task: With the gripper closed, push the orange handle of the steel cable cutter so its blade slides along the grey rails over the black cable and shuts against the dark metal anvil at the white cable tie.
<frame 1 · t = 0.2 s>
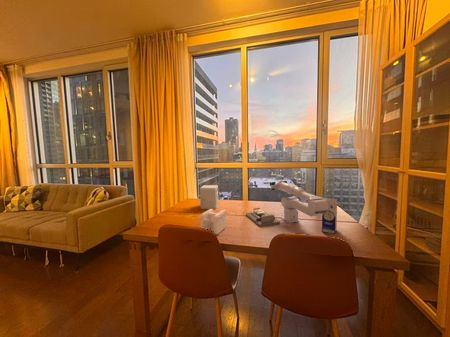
hand: (274, 183, 159), 22 cm above the table, tool horizontal, fingers open, 7 cm apart
cutter base: (261, 219, 145), on the table
supplement box: (210, 207, 180), on the table
cutter blade: (259, 212, 149), point 4 cm above the table, slide at 0.0 cm
cable organizer: (214, 230, 128), on the table
milk carton: (329, 231, 122), on the table
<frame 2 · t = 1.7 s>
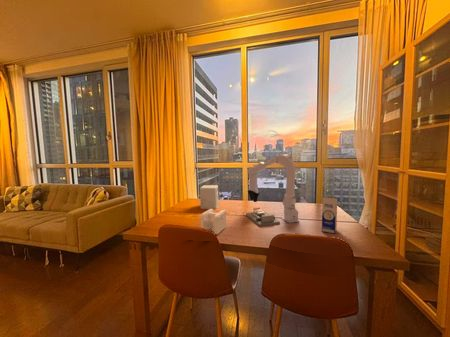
hand: (253, 200, 158), 9 cm above the table, tool pointing down, fingers open, 6 cm apart
nothing on the table moved.
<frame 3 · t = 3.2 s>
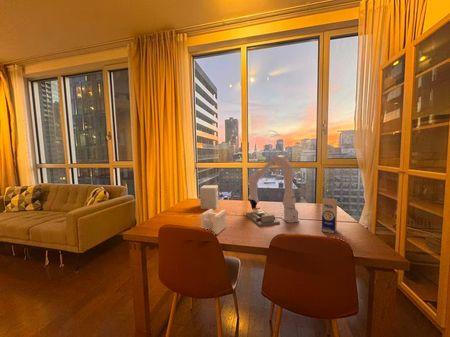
hand: (253, 209, 159), 3 cm above the table, tool pointing down, fingers closed
nothing on the table moved.
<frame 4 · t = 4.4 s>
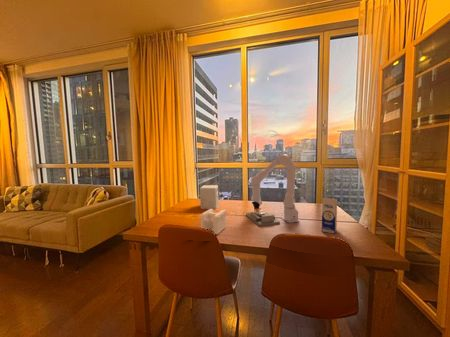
hand: (256, 211, 154), 3 cm above the table, tool pointing down, fingers closed
cutter blade: (259, 212, 148), point 4 cm above the table, slide at 1.6 cm, touching gripper
everything else where it was.
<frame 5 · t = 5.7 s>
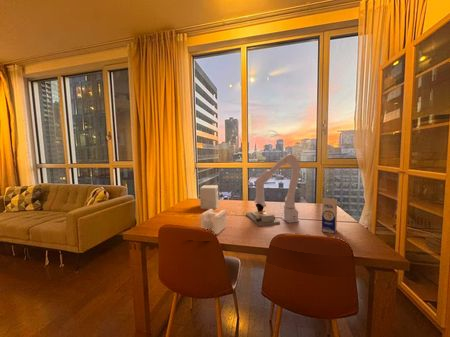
hand: (260, 214, 147), 3 cm above the table, tool pointing down, fingers closed
cutter blade: (263, 215, 142), point 4 cm above the table, slide at 7.8 cm, touching gripper
everything else where it was.
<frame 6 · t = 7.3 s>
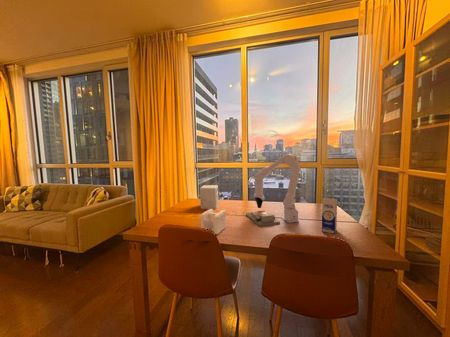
hand: (259, 207, 153), 5 cm above the table, tool pointing down, fingers closed
cutter blade: (263, 215, 142), point 4 cm above the table, slide at 7.7 cm
everything else where it was.
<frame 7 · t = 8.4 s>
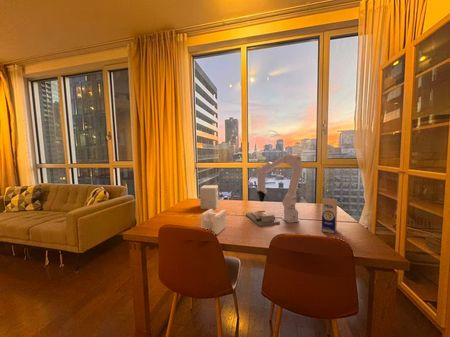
hand: (261, 201, 156), 9 cm above the table, tool pointing down, fingers closed
nothing on the table moved.
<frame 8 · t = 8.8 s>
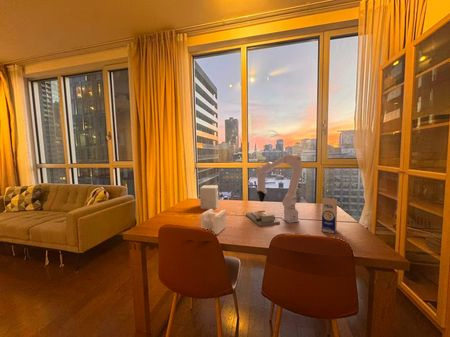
hand: (261, 201, 156), 9 cm above the table, tool pointing down, fingers closed
nothing on the table moved.
at the end: cutter blade slide at 7.7 cm; cable organizer moved 0.3 cm from its start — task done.
